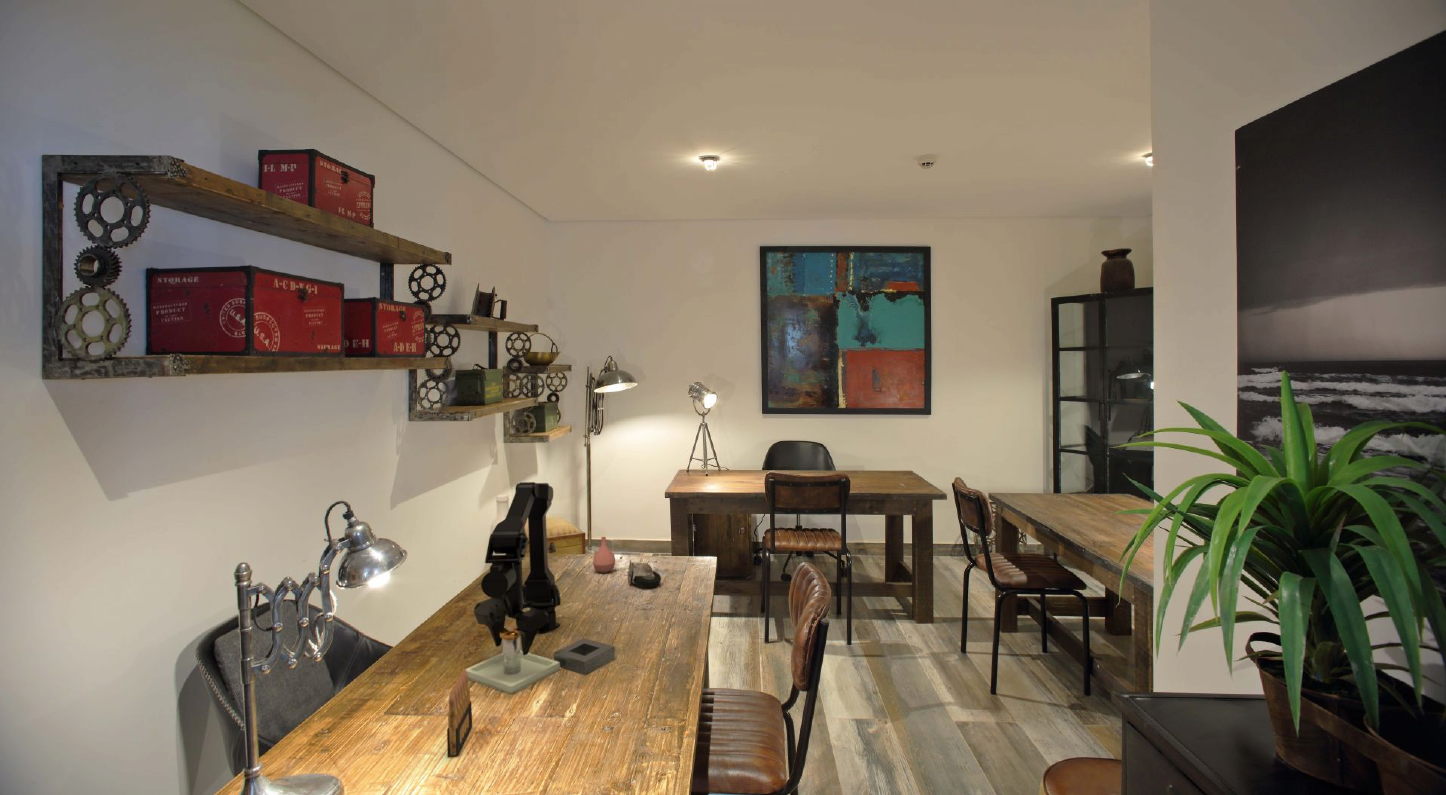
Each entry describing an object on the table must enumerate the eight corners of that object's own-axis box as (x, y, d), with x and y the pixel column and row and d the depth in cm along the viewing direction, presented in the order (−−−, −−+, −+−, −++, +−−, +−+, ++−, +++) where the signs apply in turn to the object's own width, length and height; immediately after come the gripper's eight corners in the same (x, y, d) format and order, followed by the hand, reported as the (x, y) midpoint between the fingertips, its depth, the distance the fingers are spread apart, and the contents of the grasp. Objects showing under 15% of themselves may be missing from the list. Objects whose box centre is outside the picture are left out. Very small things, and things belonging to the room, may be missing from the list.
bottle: (487, 591, 213) (483, 497, 212) (502, 583, 221) (499, 492, 219) (508, 593, 211) (505, 498, 210) (523, 585, 218) (520, 493, 217)
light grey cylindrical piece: (496, 673, 153) (494, 632, 153) (513, 664, 158) (512, 624, 157) (511, 678, 151) (509, 636, 150) (528, 669, 155) (527, 628, 155)
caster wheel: (660, 596, 213) (629, 594, 211) (655, 578, 224) (625, 576, 221) (663, 577, 212) (632, 575, 209) (658, 560, 222) (628, 558, 220)
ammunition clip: (462, 726, 132) (460, 666, 131) (472, 725, 132) (470, 665, 131) (447, 757, 121) (445, 692, 121) (458, 757, 121) (455, 691, 121)
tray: (464, 677, 153) (463, 670, 153) (513, 655, 164) (513, 647, 164) (511, 695, 144) (511, 687, 144) (559, 669, 156) (559, 662, 156)
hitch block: (554, 665, 158) (553, 652, 158) (584, 650, 167) (583, 638, 167) (585, 675, 153) (584, 662, 153) (614, 658, 161) (614, 646, 161)
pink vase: (610, 575, 227) (609, 540, 226) (589, 574, 228) (588, 539, 228) (618, 569, 234) (618, 535, 234) (598, 568, 236) (597, 534, 235)
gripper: (452, 586, 152) (455, 654, 152) (508, 600, 142) (510, 673, 142) (493, 573, 161) (495, 637, 162) (548, 585, 151) (550, 654, 152)
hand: (511, 650), depth 154 cm, fingers open, 9 cm apart
